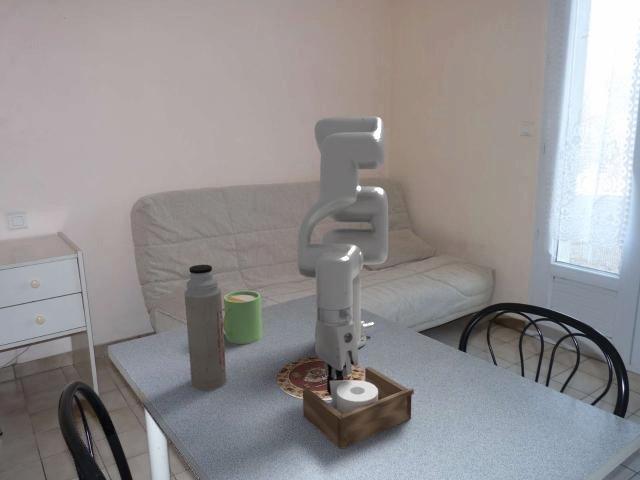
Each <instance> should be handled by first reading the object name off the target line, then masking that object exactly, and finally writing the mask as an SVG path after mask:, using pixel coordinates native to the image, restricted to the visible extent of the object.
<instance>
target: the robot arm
mask: <svg viewBox="0 0 640 480" xmlns="http://www.w3.org/2000/svg"><path fill="white" fill-rule="evenodd" d="M314 139H315V142H316V145H317V147H318V151H319V153H320V161H319V162H320V163H319V164H320V165H319V171H320V172H319V193H318V195H319V196H318V199H317V200H316V201H315V202H314V203H313V204H312V206H311V207H310V208H309V209H308V210H307V212H306V213H305V215H304V216H303V218H302V220H301V222H300V224H299V228H298V233H297V245H296V248H297V249H296V267H297V270H298V273H299V274H300V275H301V276H303V277H304V278H308V279H309V278H311V279H315V307H316V308H315V309H316V310H315V311H316V313H315V314H316V315H315V316H316V319H315V329H314V330H315V332H314V349H315V354H316V356H317V357H318V358H319V359H320V360H321V362H322V363H323V365H324V371H325V375H326V382H327V383H326V387H327V388H326V392H327V394H329V395H330V396H331V389H330V382H329V381H335V380H344V377H345V378H349V377H351V376H353V370H352V369H353V368H352V366H354V367H356V366H359V348H362V347H364V345H366V344H367V335H366V334H365V333H366V332H367V331H370V330H373V329H375V326H376V325H375V323H374V322H373V321H369V322H367V323H365V321H364V320H361V319H362V300H361V299H362V282H361V277H360V275H359V273H360V272H362V271H363V267H364V265H369V266H370V265H382V264H383V263H385V262H386V261H387V259H388V254H389V202H388V201H389V200H388V196H387V193H386V191H385V190H384V188H382V187H379V186H373V185H372V186H361V185H360V170H377V169H380V168H381V167H382V166H383V164H384V161H385V156H386V129H385V124H384V121H383V120H382V118H380V117H379V116H374V115H373V116H369V115H368V116H367V115H366V116H361V115H360V116H329V117H324V118H321V119H319V120H317V122H316V123H315V125H314ZM326 218H329V220H330V221H331V222H335V223H342V224H369V225H370V226H371V228H370V227H366V228H365V227H361V228H360V227H359V228H357V227H340V228H339V227H338V228H337V227H336V228H335V227H334V228H332V229H328V230H327V231H325V232H324V233H323V234H322V237H321V241H320V242H321V243H311V239H312V234H313V231H314V229H315V227H316V226H317V225H318V224H319V223H320V222H321V221H323V220H324V219H326Z"/></svg>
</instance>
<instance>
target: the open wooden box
mask: <svg viewBox="0 0 640 480" xmlns="http://www.w3.org/2000/svg"><path fill="white" fill-rule="evenodd" d="M364 371H365V372H364V376H365V378H364V379H365V380H364V381H366V382H369V383H371V384H373V385H375V386H376V387H377V389H378V401H376V402H373V403H371V404H368V405H366V406H363V407H361V408H358V409H356V410H353V411H351V412H348V413H346V414H343V415H342V414H341V413H340V412H338V411H337V408H335V407H333V406H332V405H331V404H329V403H328V402H327V401H325V400H324V399H323V398H321V396H319V395H317V394H316V393H315V392H313V391H312V390H311V389H309V388H308V387H307V388H304V389H302V410H303V411H302V416H303V417H304V419H306V420H307V421H308V422H309V423H310V424H312V426H313V427H315V428H316V429H318V430H319V431H320V432H321V433H322V434H323V435H325V436H326V438H328V439H329V441H331V442H333V444H335V445H336V447H337V446H338V448H340V449H341V450H343V449H346V448H347V447H349V446H353V445H354V444H356V443H359V442H361V441H362V440H363V441H364V440H365V439H368V438H370V437H372V436H374V435H376V434H378V433H381V432H384V431H385V430H387V429H390V428H392V427H395V426H397V425H398V424H399V425H400V424H401V423H404V422H406V421H408V420H411V419H412V398H413V397H412V395H414V394H415V392H414V391H415V389H414V388H413V387H412V388H411V387H410V388H407V387H406V386H404V385H402V384H400V383H398V382H396V381H395V380H393V379H392V378H390V377H388V376H386V375H385V374H383V373H382V372H380V371H378V370H377V369H375V368H373V367H371V366H367V367H365V368H364Z"/></svg>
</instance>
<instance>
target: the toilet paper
mask: <svg viewBox="0 0 640 480" xmlns="http://www.w3.org/2000/svg"><path fill="white" fill-rule="evenodd" d="M329 382H330V389H331V395H330V396H331V403H332V405H333V406H336V410H337V411H338V412H340V413H341V414H342V415H343V414H346V413H348V412H351V411H353V410H356V409H358V408H361V407H363V406H366V405H368V404H371V403H373V402H376V401H378V389H377V387H376V386H375V385H373V384H371V383H369V382H366V381H365V380H356V379H355V380H348V379H347V380H345V379H343V380H335V381H329Z"/></svg>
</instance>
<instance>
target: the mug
mask: <svg viewBox="0 0 640 480" xmlns="http://www.w3.org/2000/svg"><path fill="white" fill-rule="evenodd" d="M261 299H262V298H261V294H260V293H259V292H257V291H255V290H237V291H232V292H229V293H227V294H225V295H224V296H223V309H222V312H223V311H224V315H223V332H224V334H225V338H226V341H227V342H229V343H231V344H236V345H237V344H238V345H245V344H251V343H252V344H253V343H256V342H258V341H259V340H260V339H262V337H263V327H262V326H263V325H262V323H263V322H262V305H261V303H262V300H261Z"/></svg>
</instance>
